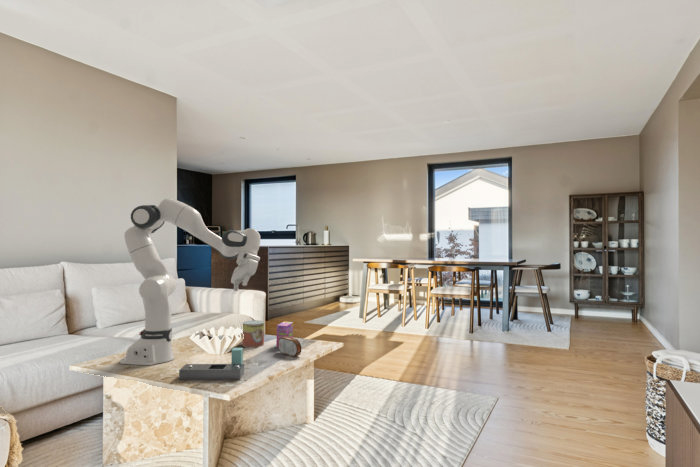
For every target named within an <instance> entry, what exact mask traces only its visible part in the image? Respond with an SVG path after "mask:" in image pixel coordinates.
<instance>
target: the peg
mask: <svg viewBox="0 0 700 467" xmlns="http://www.w3.org/2000/svg"><path fill="white" fill-rule="evenodd" d="M230 364H244V348H243V347H232V349H231V363H230Z"/></svg>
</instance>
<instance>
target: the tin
mask: <svg viewBox="0 0 700 467" xmlns="http://www.w3.org/2000/svg"><path fill="white" fill-rule="evenodd" d="M278 347H279V348H278V349H279V351H280V353H281V354H283V355H286V356H289V357H297V356H300V355H301V353H302V345H301V342H300V341H299V339H297V338H294V337H293V338H291V337H287V336H284V337H281V338H280V339H279V341H278Z"/></svg>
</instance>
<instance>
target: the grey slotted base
mask: <svg viewBox="0 0 700 467" xmlns="http://www.w3.org/2000/svg"><path fill="white" fill-rule="evenodd" d="M178 370H179V371H178V372H179V373H178V380H179V381H240V380H242V378H243V376H244V375H245V363H243V364H231V363H185V364H184V365H183V366H182V367H181V368H179V369H178Z"/></svg>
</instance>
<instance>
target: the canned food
mask: <svg viewBox="0 0 700 467" xmlns="http://www.w3.org/2000/svg"><path fill="white" fill-rule="evenodd" d="M243 334H244V339H243V338H242V347H244V348H259V346H260V347H263V346H265V321H264V320H258V319H257V320H256V319H255V320H254V319H253V320H246V321H242V335H243Z"/></svg>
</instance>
